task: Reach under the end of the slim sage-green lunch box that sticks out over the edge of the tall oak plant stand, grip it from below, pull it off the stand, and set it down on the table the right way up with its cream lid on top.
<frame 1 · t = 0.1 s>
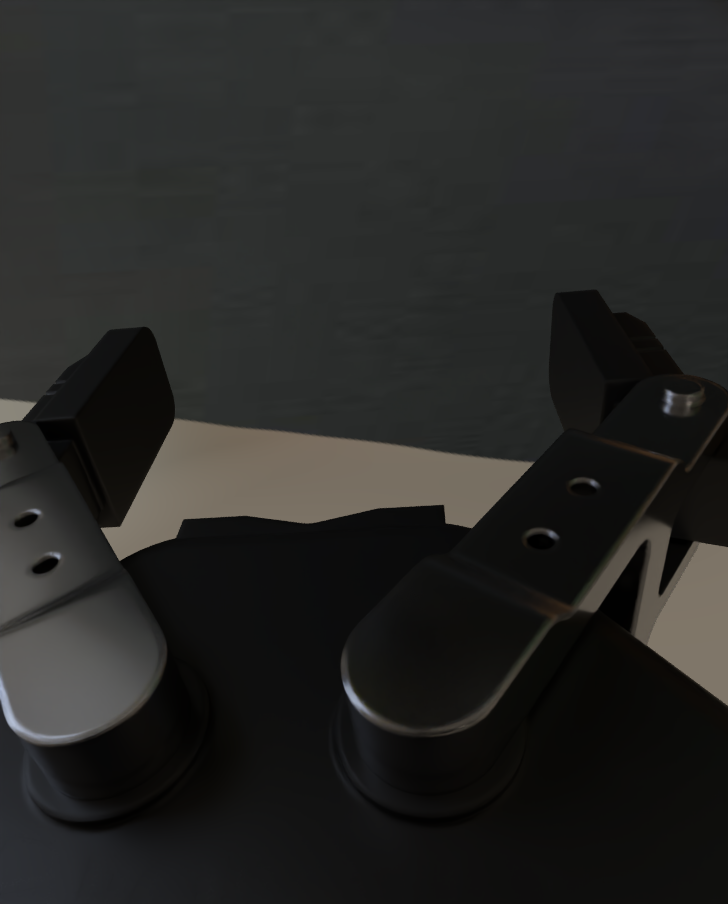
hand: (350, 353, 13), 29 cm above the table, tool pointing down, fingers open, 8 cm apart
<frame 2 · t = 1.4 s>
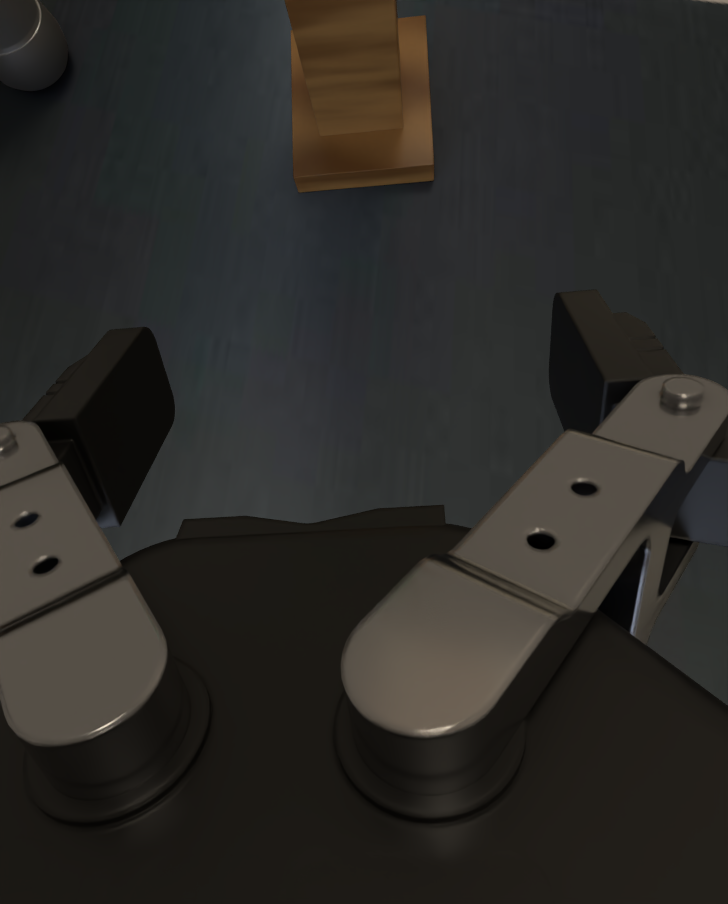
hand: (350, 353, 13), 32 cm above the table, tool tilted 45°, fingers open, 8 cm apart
plant stand: (362, 113, 50), on the table
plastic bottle: (40, 69, 53), on the table
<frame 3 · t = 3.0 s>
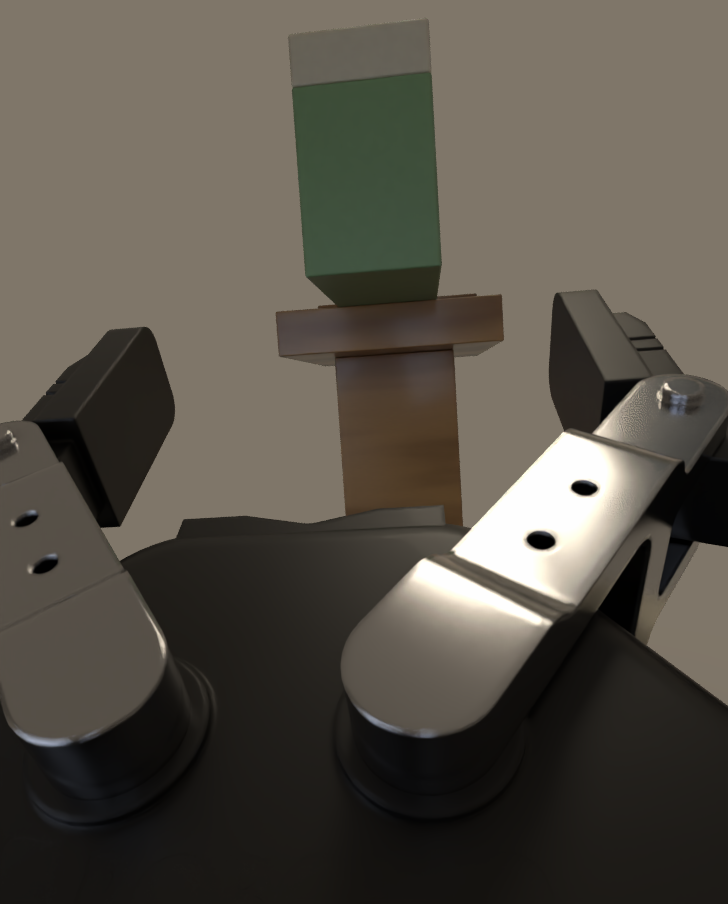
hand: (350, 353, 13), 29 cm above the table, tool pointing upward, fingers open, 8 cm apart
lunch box: (389, 308, 31), point 32 cm above the table, touching plant stand
plant stand: (427, 868, 39), on the table
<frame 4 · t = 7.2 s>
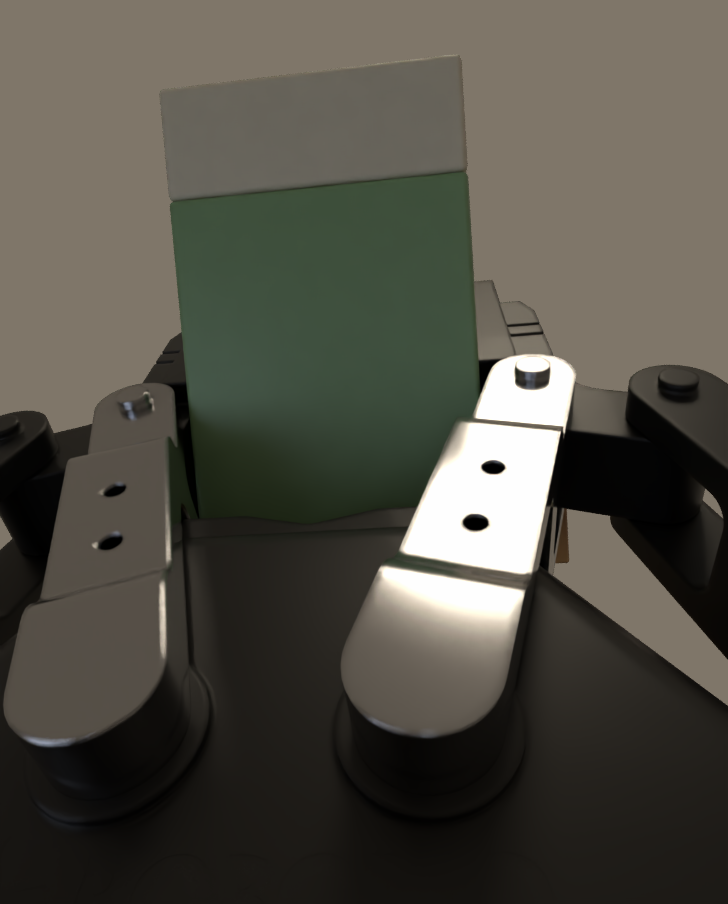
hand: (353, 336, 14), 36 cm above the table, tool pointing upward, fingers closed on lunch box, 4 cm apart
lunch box: (383, 489, 20), point 32 cm above the table, touching gripper, plant stand
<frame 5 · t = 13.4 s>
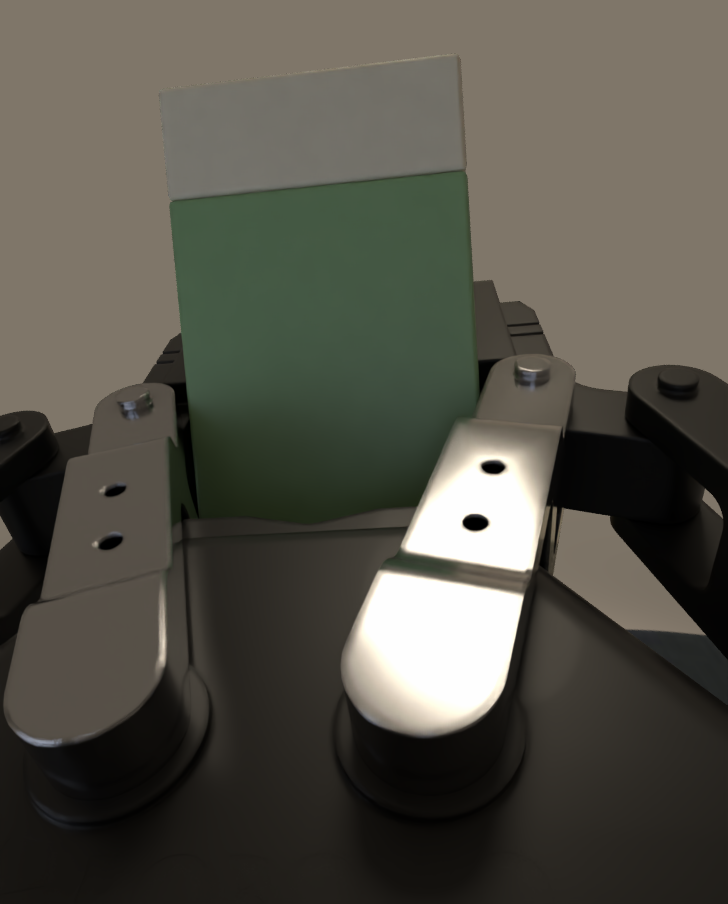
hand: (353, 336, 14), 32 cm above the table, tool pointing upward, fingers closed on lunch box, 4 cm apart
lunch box: (383, 488, 20), point 27 cm above the table, tilted 14°, touching gripper
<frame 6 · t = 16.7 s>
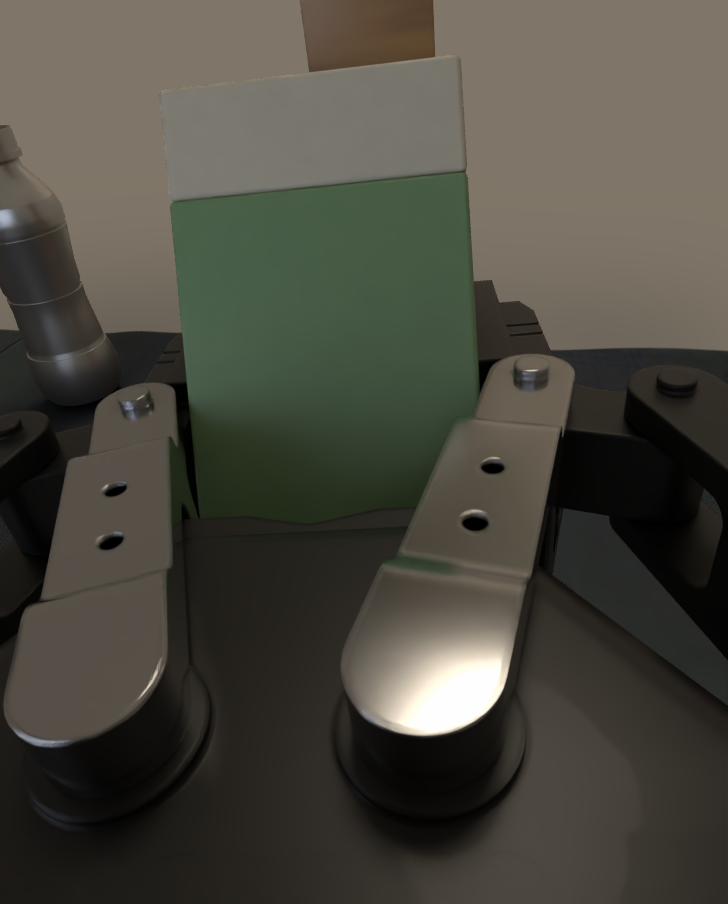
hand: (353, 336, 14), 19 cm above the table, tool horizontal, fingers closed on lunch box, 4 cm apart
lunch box: (383, 488, 20), point 13 cm above the table, tilted 30°, touching gripper
plant stand: (403, 420, 46), on the table
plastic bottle: (88, 397, 55), on the table
when the fingers open (11 cm above the table, at t = 19.7 s): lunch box drops 5 cm, on the table.
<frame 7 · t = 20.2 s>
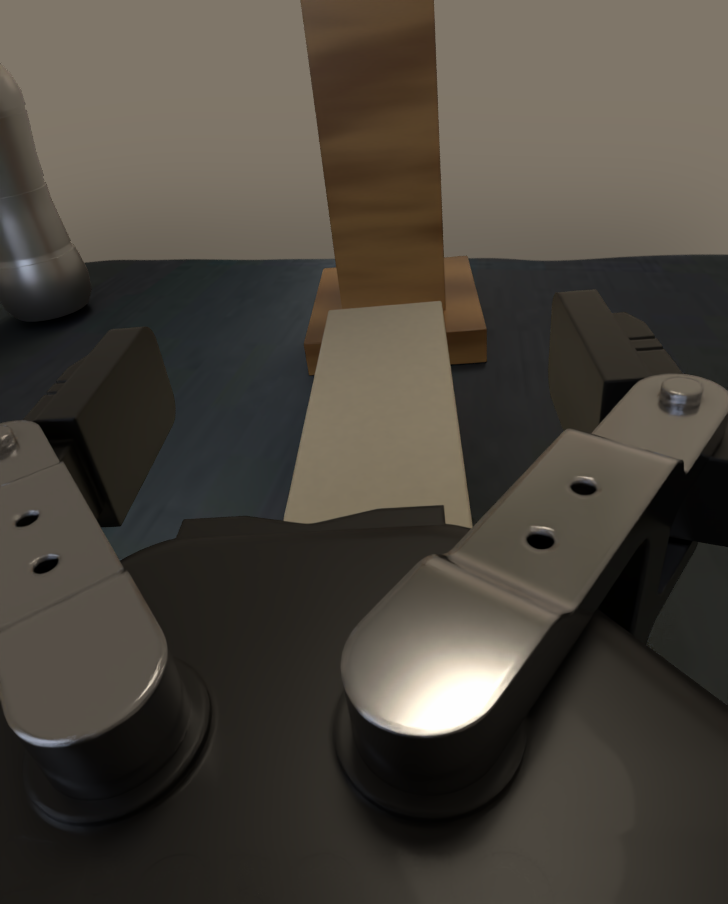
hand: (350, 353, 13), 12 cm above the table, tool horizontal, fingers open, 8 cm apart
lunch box: (399, 640, 22), on the table
plant stand: (396, 324, 42), on the table
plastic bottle: (56, 316, 50), on the table
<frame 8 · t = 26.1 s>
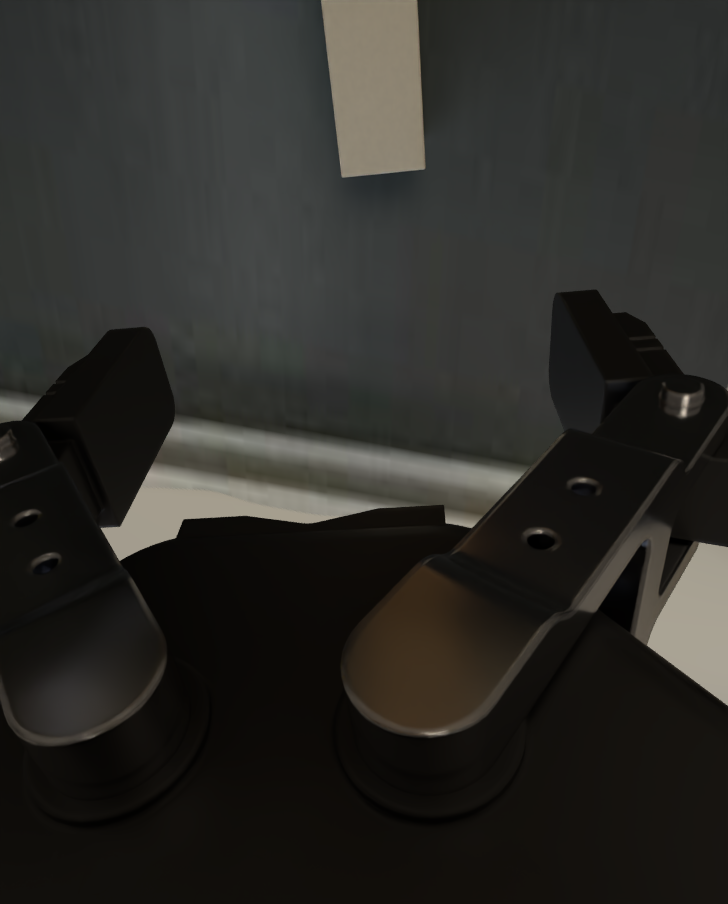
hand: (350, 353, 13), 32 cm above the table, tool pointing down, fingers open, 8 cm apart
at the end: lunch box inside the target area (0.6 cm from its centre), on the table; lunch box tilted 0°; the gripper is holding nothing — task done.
